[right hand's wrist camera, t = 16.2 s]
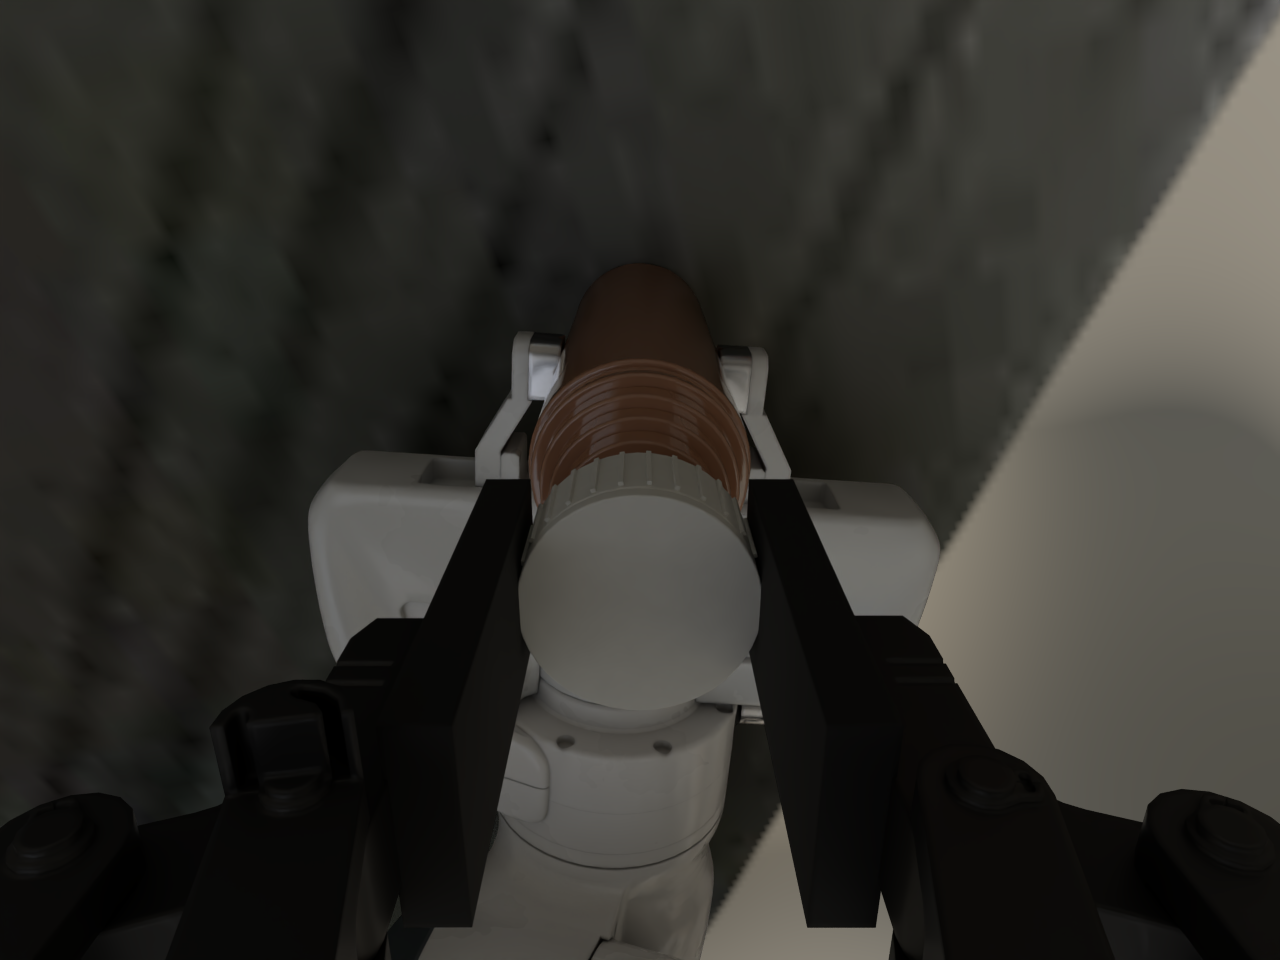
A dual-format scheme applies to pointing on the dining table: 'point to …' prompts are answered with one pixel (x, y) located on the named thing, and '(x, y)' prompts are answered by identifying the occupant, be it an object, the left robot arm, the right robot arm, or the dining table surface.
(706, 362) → the bottle
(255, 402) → the dining table surface
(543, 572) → the cap
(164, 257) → the dining table surface
